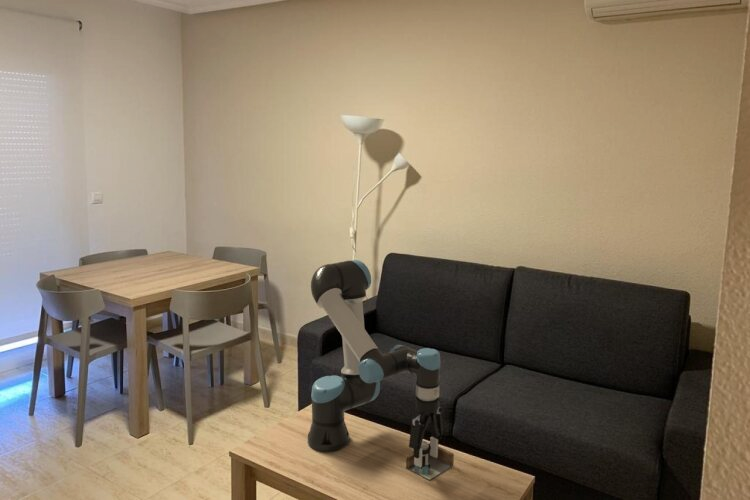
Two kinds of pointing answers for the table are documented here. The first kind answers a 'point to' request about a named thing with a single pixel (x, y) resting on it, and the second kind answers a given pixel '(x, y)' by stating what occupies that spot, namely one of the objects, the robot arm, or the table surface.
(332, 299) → the robot arm
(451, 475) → the table surface
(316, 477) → the table surface
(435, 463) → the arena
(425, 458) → the push button
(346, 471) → the table surface
